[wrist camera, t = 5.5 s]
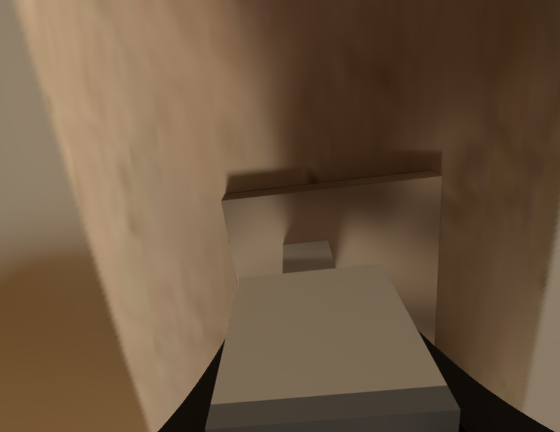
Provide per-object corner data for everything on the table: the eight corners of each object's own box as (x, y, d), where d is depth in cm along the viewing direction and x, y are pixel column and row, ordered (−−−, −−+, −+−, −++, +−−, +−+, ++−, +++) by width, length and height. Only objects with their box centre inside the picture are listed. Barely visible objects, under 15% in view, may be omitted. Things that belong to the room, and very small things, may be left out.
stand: (424, 398, 24) (458, 475, 19) (265, 410, 24) (260, 488, 20) (432, 170, 18) (484, 200, 13) (225, 193, 19) (205, 230, 14)
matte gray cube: (383, 374, 14) (447, 560, 9) (259, 384, 15) (244, 571, 9) (381, 263, 13) (460, 410, 7) (239, 278, 13) (204, 429, 7)
